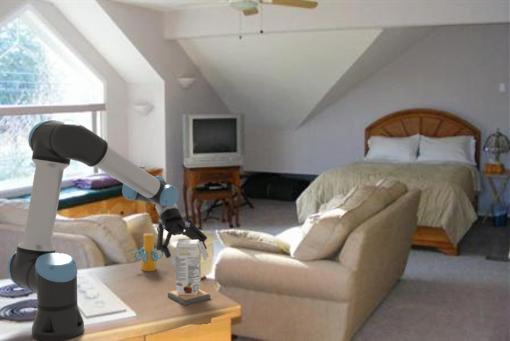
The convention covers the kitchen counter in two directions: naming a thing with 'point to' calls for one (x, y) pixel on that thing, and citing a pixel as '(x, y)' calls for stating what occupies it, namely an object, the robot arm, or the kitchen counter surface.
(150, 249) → the yellow and blue piece
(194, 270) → the juice carton
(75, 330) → the robot arm
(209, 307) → the kitchen counter surface
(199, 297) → the board
